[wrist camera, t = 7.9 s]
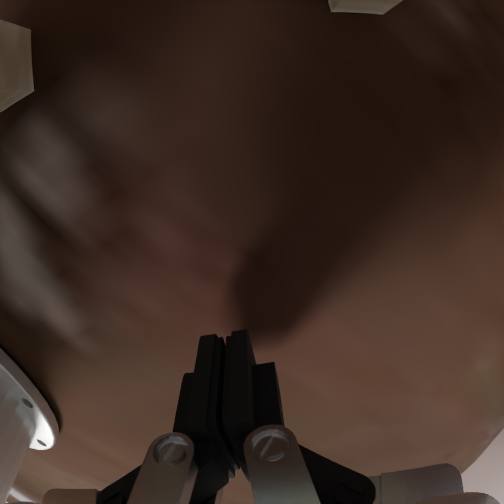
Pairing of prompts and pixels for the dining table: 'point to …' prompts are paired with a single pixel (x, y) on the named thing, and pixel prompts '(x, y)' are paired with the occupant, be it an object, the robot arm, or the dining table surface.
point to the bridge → (20, 59)
